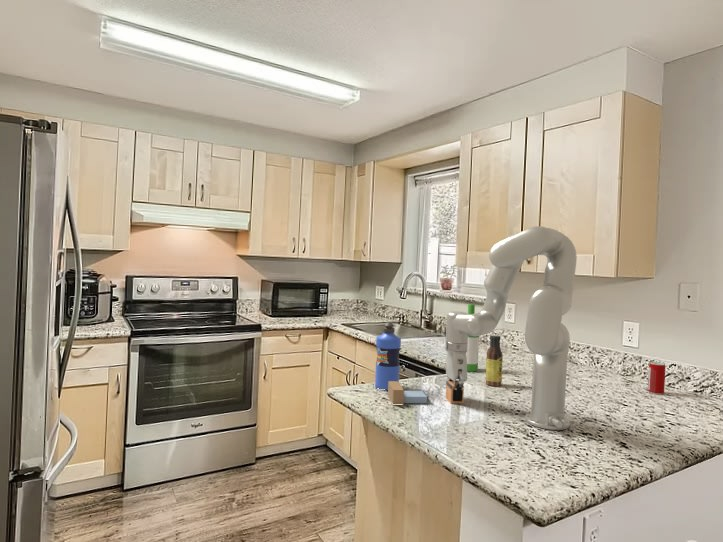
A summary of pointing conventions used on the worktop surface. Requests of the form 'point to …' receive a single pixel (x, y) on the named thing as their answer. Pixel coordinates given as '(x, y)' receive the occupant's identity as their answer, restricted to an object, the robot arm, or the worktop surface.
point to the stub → (451, 392)
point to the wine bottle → (472, 346)
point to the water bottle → (387, 357)
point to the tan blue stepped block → (405, 394)
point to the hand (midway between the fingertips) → (454, 397)
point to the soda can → (656, 378)
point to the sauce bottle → (494, 362)
